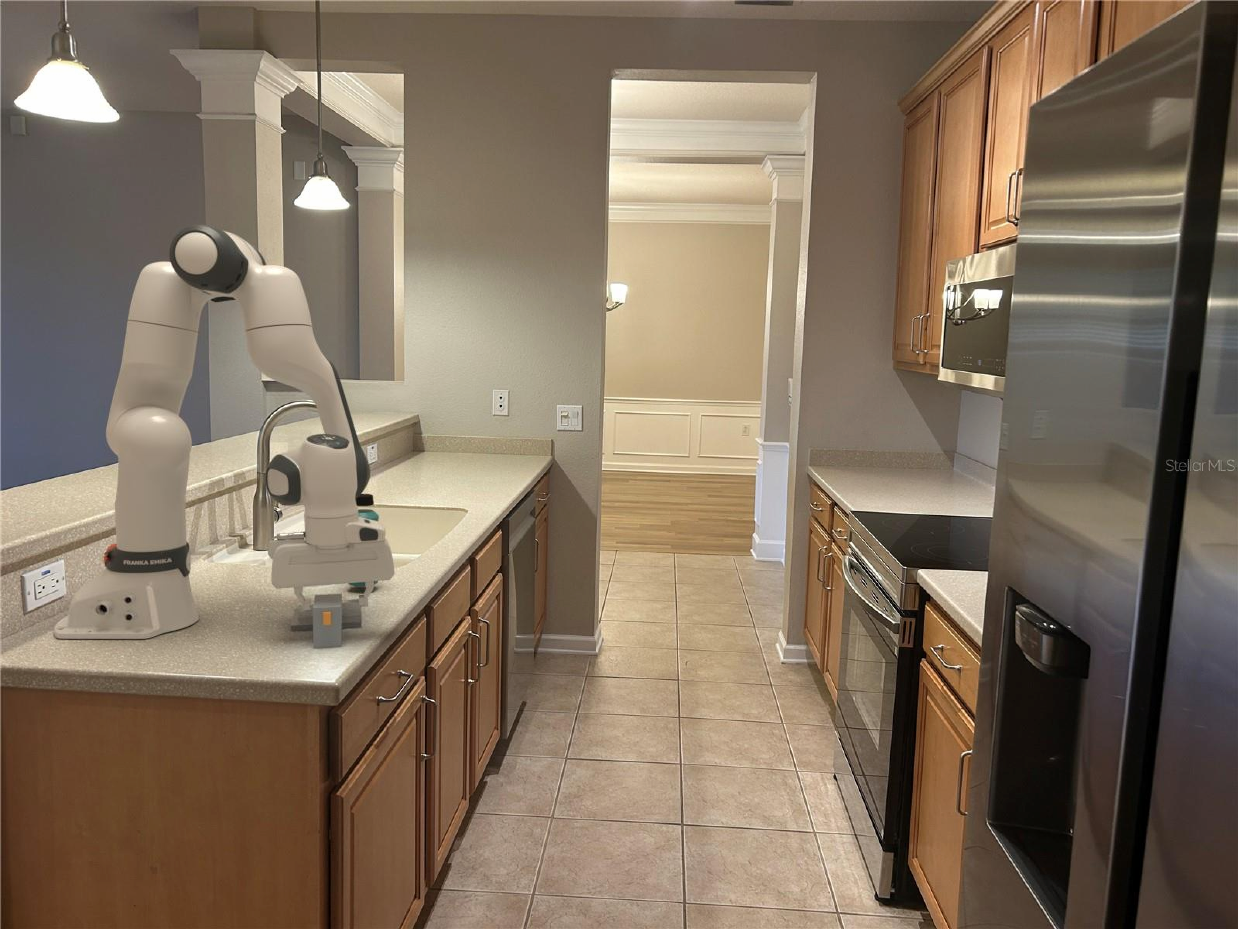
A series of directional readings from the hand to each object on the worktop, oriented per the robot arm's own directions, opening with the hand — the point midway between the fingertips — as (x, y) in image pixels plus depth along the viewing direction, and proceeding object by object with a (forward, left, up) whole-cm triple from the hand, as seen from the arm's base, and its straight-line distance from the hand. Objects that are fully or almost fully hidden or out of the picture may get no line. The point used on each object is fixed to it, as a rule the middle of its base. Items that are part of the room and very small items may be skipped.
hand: (335, 608), depth 158 cm
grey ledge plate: (-1, +10, -5) cm, 11 cm away
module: (-1, -1, -5) cm, 6 cm away
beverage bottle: (+5, +30, -6) cm, 31 cm away
